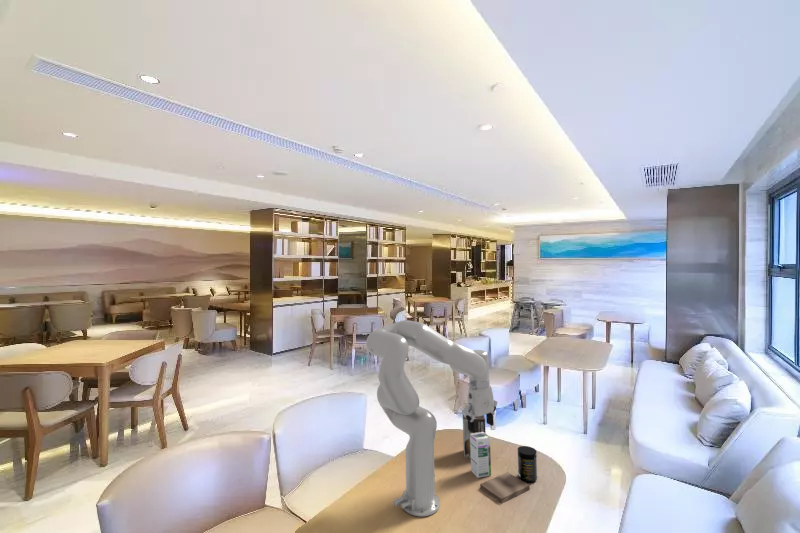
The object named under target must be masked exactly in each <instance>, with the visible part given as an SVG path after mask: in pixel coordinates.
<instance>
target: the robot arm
mask: <svg viewBox="0 0 800 533" xmlns="http://www.w3.org/2000/svg"><path fill="white" fill-rule="evenodd" d="M365 346H366V349H367V351H368V352H369V353H370V354H371V355H372V356H374V357H378V358H381V359H382V360H381V363H380V367H379V370H378V374H377V376H378V382H379V385H378V387H377V391H376V398H377V402H378V403H379V405H380V407H381V409H382V410H383V412H384V413H385V415H386V416H387V418H388V420H389V421H390V423H391V424H392V425H393V426H394V427H395V428H397V429H398V430H400V431H402V432H403V433H405V434H407V435H408V436H409V439H408V441H407V444H406V447H405V490H403V494H402V495H400V497H397V498H395V499H393V501H392V503H393V504H392V505H393V506H394V507H398V506H400V508H401V509H403V510H404V511H405V513H407V514H408V515H411V516H415V517H427V516H431V515H433V514H436V512H437V511H438V510H439V509H440V506H441V505H440V498H439V496H438V495H436V492H435V491H436V490H435V489H436V486H435V485H436V484H435V439H436V433H437V426H438V424H437V422H438V421H437V419H436V417H435V415H434V414H433V413H432V412H431V411H430V410H428V409H426V408H424V407H422V406H420V397H419V395H418V393H417V391H416V389H415V388H414V385H413V384H412V383H411V381H410V379H409V377H408V376H407V374H406V371H405V363H406V359H407V357H408V354H409V346H410V347H413V348H415V349H416V350H418V351H420V352H422V353H423V354H425V355H427V356H428V357H430V358H432V359H433V360H436V361H438V362H439V363H443V364H446V365H449V368H450V369H451V370H452V371H454V372H455V373H458V374H461V375H465V376H468V378H469V379H468V380H469V382H468V383H467V385H468V390H467V404H466V406H465V407H464V408H463V410H462V411H461V413H462V416H463V415H464V417H465V418H466V420H468V430H469V431H471V432H473V433H474V432H475V422H474V419H475V417H476V416H477V417H478V416H482V415H484V416H485V415H486V416H485V417H486V418H485V421H486V424H488V425H489V426H492V427H493V426H494V424H495V423H494V415H495V414H496V413H495V411H496V409H497V406H498V401H497V400H494V393H493V389H492V386H491V385H490V367H489V366H490V365H489V364H490V363H489V362H490V361H489V360H490V358H489V354H488V352H487V351H486V350H483V349H482V350H481V349H473V350H472V349H469V348H467V347H466V346H463V345H461V344H460V343H457V342H455V341H453V340H451V339H449V338H447V337H445V336H444V335H442V334H440V333H439V332H438V331H436V330H435V329H433V328H432V327H430V326H429V325H428V324H425V323H423V322H420V321H414V320H408V319H406V320H400V321H397V322H393V323H391V324H389V325H386V326H383V327H380V328H377V329H375V330H373V331H372V332H371V333H370V334H369V335H368V336H367V338H366V341H365ZM471 415H472V417H471Z"/></svg>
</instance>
